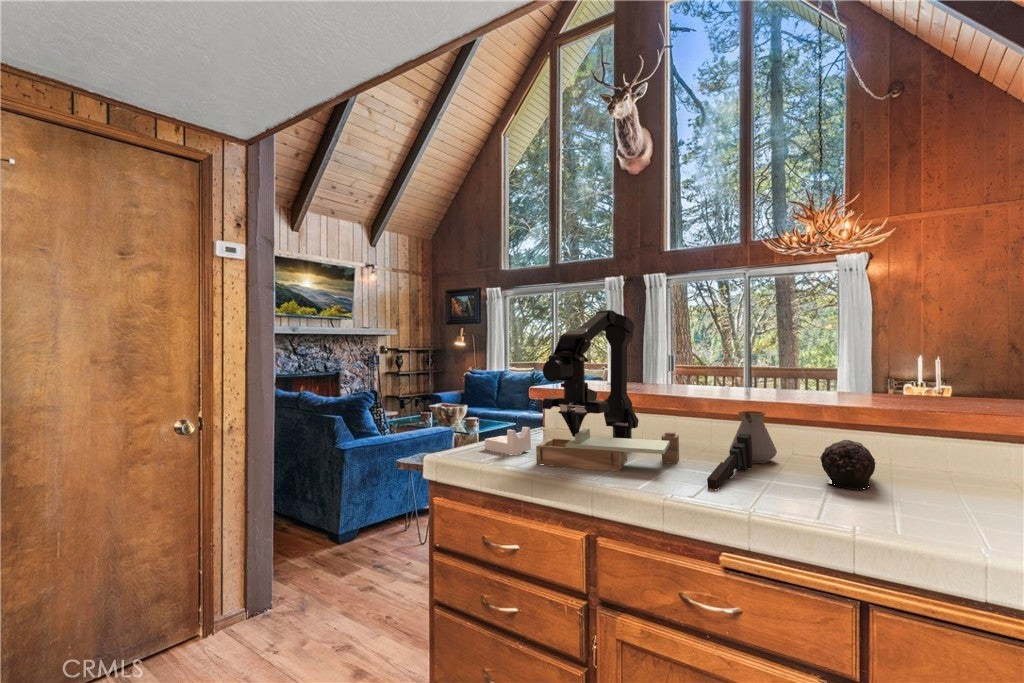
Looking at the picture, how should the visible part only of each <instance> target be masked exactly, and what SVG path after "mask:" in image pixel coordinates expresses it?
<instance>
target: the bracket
mask: <svg viewBox="0 0 1024 683" xmlns="http://www.w3.org/2000/svg"><path fill="white" fill-rule="evenodd" d="M531 442H532V440H531V427H528V426H522V427H521V432H520V434H519V435H518V434H517V432H516V430H514V429H507V430H506V435H499V436H495V437H489V438H484V450H485V449H487V450H486V451H489V450H490V451H489V452H494V451H495V452H494V453H498V452H501V453H500V454H503V453H506V454H505V455H507V454H512V455H515V454H520V453H522V454H523V452H527V451H532V443H531ZM512 455H511V456H512ZM520 455H521V454H520ZM515 456H516V455H515Z"/></svg>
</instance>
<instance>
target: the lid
mask: <svg viewBox="0 0 1024 683" xmlns="http://www.w3.org/2000/svg"><path fill="white" fill-rule="evenodd" d="M590 431H591V429H590V428H583V429H580V430H579V432H578V433H576V434H575V437H573V439H572V438H571V439H572V440H571V441H569V442H568V443H566V444H565V447H566V448H577V449H593V450H608V451H624V452H627V453H641V454H643V453H644V454H658V455H662V454H664V453H665V451H666V450H667V448H668V447H669V445H670V441H664V440H662V439H659V440H658V439H643V438H642V439H641V438H632V439H627V438H613V437H607V436H606V437H604V436H591V432H590Z"/></svg>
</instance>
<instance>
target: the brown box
mask: <svg viewBox="0 0 1024 683" xmlns="http://www.w3.org/2000/svg"><path fill="white" fill-rule="evenodd" d="M571 440H572V438H571V439H570V438H555V437H550V438H549V439H546V440H545V441H543V442H541V443H539V444H538V445H536V446H535V447H536V448H535V450H536V451H535V452H536V453H535V454H536V456H535V457H536V465H537V464H544V465H543V466H545V465H553V466H552V467H558V466H561V467H560V468H570V467H573V468H574V469H585V470H596V469H598V470H599V471H608V470H612V471H611V472H619V471H620V470H621V469H622V468H623V467H624V466H625V464H626V463H627V462H628V452H624V451H608V450H593V449H577V448H566V447H565V444H566V443H568V442H569V441H571ZM622 466H623V467H622ZM621 467H622V468H621ZM620 468H621V469H620ZM613 470H614V471H613Z"/></svg>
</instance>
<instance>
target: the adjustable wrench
mask: <svg viewBox="0 0 1024 683" xmlns="http://www.w3.org/2000/svg"><path fill="white" fill-rule="evenodd" d="M732 448H733V449H730V448H729V455H728V456H727V458H726V459H725V460H724V461H723V462H721V461H720V463H719V464H718V465H717V466H716V468H715V469H713V471H712V472H711V474H710V475H709V476H708V477H707V479H706V480H707V481H706V482H707V483H706V484H707V489H710V488H712V489H711V490H715V489H717V490H719V489H720V488H721V487H722V486H723V484H724V482H725V481H726V480H727V479H731V478H732V477H733V476H734V474H735V472H734V471H735V470H736V469H737V470H736V471H741V470H743V471H742V472H747V471H748V468H751V469H752V468H753V467H752V466H753V463H752V441H751V434H742V433H740V434H739V435H738V436H737V443H735V444H734V445H733V446H732ZM746 470H747V471H746ZM719 487H720V488H719ZM718 488H719V489H718Z"/></svg>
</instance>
